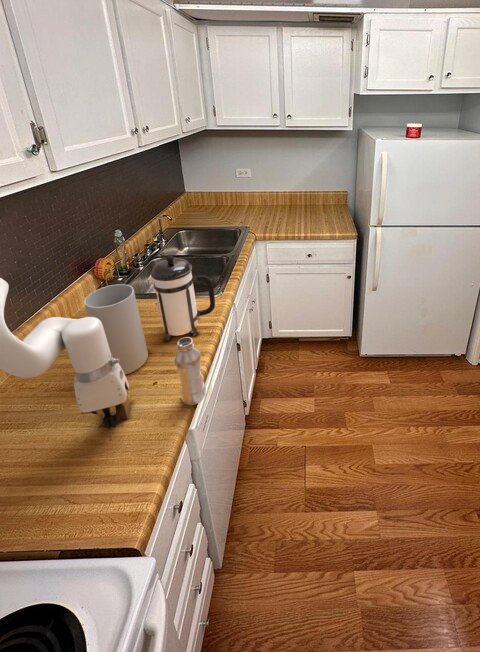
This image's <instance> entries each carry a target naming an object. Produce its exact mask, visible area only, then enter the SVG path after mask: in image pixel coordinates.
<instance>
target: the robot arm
mask: <svg viewBox="0 0 480 652" xmlns="http://www.w3.org/2000/svg"><path fill="white" fill-rule="evenodd" d="M9 289H10V285H9V283H8V282H7V281H6V280H4V279H3V278H2V277H0V370H1V371H4V372H5V373H7V374H8V375H10V376H14V377H16V378H20V379H34V378H37V377H40V376H41V375H43V374H44V373H46V372H47V371H48V370H49V369H50V368H51V367H52V365H53V364H54V363H55V362H56V360H57V359H58V358H59V357H60V355H61V354H62V352H64V351H66V353H67V355H68V358H69V361H70V365H71V367H72V369H73V374H74V379H73V387H74V388H73V389H74V396H75V400H76V405H77V407H78V410H79V411H80V414H82V415H85V414H86V415H87V414H88V415H89V414H93V415H96V416H98V417H99V418H100V419H102V421H103V424H104V425H106V427H107V430H111V429H112V428H116V426H117V423H118V422H120V421H119V414H118V409H119V408H120V407H121V405H124V404H126V403H128V402H130V403H131V402H132V401H131V400H132V395H131V394H130V392H129V390H130V384H129V381H128V378H127V375H125V374H124V372H123V370H122V368H121V366H120V365H119V363H120V358H114V357H113V355H112V354H111V352H110V349H109V345H108V342H107V338H106V335H105V332H104V328H103V325H102V322H101V321H100V320H99V319H97V318H95V317H88V316H85V317H81V318H69V317H63V316H62V317H61V316H52V317H47V318H44V319H43V320H41V321H40V322H39V323H38V324H37V325H36V326H35V327H34V328H33V329H32V330H31V331H30V332H29V333H28V334H27V335H26V336H25V337H24V338H23V339H22V340H21V339H19V338H18V337H17V336H16V335H14V334H13V333H12V331H11V330H10V329H9V328H8V326H7V323H6V320H5V305H6V301H7V297H8V293H9ZM107 407H108V408H107Z"/></svg>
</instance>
